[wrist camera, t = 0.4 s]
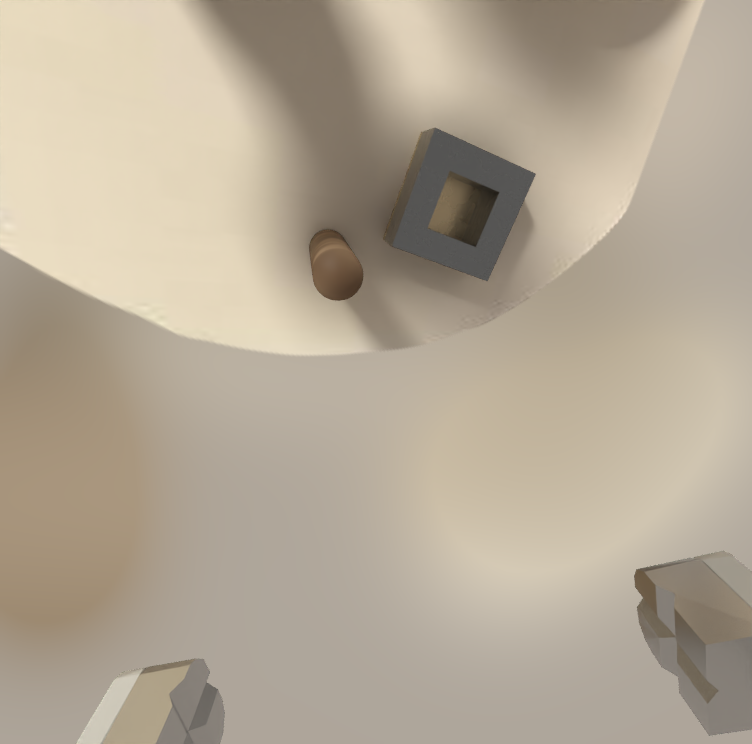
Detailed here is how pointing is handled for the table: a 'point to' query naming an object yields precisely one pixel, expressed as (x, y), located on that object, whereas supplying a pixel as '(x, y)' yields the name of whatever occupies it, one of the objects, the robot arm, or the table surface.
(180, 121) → the table surface
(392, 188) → the table surface
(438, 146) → the socket block
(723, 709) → the robot arm
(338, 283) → the walnut pin
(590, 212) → the table surface
